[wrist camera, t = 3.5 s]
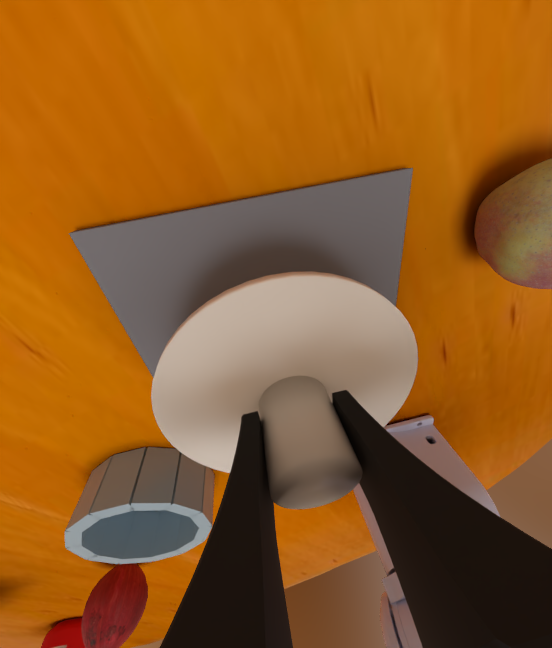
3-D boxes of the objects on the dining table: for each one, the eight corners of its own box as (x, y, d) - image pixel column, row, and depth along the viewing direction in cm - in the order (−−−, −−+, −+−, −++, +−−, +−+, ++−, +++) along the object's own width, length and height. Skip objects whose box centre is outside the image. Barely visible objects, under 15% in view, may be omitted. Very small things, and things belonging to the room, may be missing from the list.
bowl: (192, 435, 20) (185, 489, 17) (224, 493, 25) (224, 542, 22) (65, 466, 19) (30, 528, 16) (126, 518, 25) (110, 573, 21)
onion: (88, 558, 28) (44, 682, 21) (137, 542, 28) (108, 661, 21) (119, 572, 31) (89, 683, 24) (163, 558, 31) (146, 665, 24)
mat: (405, 168, 12) (412, 168, 12) (380, 389, 21) (384, 395, 20) (75, 230, 11) (68, 233, 11) (192, 435, 20) (191, 442, 19)
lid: (429, 240, 9) (560, 283, 5) (396, 435, 15) (446, 513, 12) (95, 312, 8) (-3, 415, 5) (205, 484, 15) (198, 583, 11)
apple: (413, 228, 14) (514, 258, 9) (555, 111, 12) (781, 68, 7) (446, 296, 17) (537, 346, 12) (565, 209, 15) (732, 227, 10)
